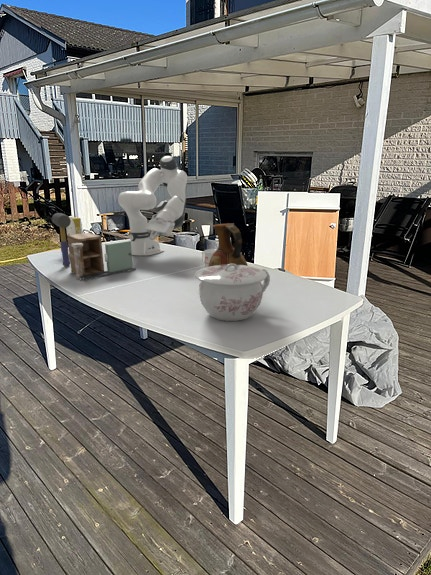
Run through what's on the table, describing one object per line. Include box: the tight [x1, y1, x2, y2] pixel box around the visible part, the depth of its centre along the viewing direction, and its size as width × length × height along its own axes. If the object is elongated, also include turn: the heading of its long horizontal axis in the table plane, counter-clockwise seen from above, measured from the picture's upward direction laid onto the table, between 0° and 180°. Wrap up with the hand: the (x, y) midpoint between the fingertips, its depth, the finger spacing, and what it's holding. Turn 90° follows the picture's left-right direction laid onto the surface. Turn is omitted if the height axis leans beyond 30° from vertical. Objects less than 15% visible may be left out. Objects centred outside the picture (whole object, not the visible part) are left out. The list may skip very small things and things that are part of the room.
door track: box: [80, 266, 137, 282], centre depth 213 cm, size 30×5×1 cm, turn 133°
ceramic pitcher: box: [208, 222, 249, 267], centre depth 189 cm, size 20×20×30 cm
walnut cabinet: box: [66, 232, 105, 282], centre depth 210 cm, size 16×18×20 cm
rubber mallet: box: [51, 212, 71, 268], centre depth 223 cm, size 12×8×30 cm, turn 37°
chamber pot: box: [194, 263, 271, 322], centre depth 154 cm, size 28×28×21 cm
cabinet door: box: [103, 239, 134, 273], centre depth 215 cm, size 15×4×16 cm, turn 133°
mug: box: [201, 248, 218, 268], centre depth 218 cm, size 12×9×11 cm
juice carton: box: [65, 215, 84, 236], centre depth 256 cm, size 9×8×24 cm
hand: (151, 239), depth 226 cm, fingers closed
